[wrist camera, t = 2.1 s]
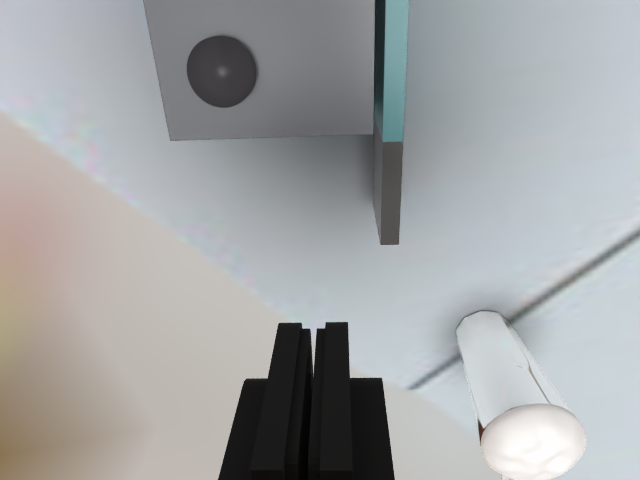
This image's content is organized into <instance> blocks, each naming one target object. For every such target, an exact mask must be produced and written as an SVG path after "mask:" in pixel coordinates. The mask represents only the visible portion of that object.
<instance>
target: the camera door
mask: <svg viewBox="0 0 640 480" xmlns="http://www.w3.org/2000/svg"><path fill="white" fill-rule="evenodd" d="M408 12H409V0H376V47H375V124H374V201H373V207H374V212H375V218H376V223H377V228H378V234H379V239H380V245H398V244H399V226H400V202H401V179H402V155H403V131H404V107H405V84H406V60H407V36H408Z"/></svg>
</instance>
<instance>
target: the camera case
mask: <svg viewBox="0 0 640 480" xmlns="http://www.w3.org/2000/svg"><path fill="white" fill-rule="evenodd" d="M143 2H144V7H145V13H146V18H147V23H148V28H149V33H150V39H151V44H152V49H153V54H154V59H155V64H156V70H157V75H158V80H159V85H160V90H161V96H162V101H163V106H164V111H165V116H166V122H167V127H168V132H169V137H170V141H179V140H210V139H240V138H271V137H301V136H332V135H362V134H373V114H374V31H375V0H143Z"/></svg>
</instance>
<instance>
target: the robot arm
mask: <svg viewBox="0 0 640 480" xmlns="http://www.w3.org/2000/svg"><path fill="white" fill-rule="evenodd" d="M349 373H350V372H349V342H348V322H326V325H325V329H317V334H316V349H315V364H314V378H313V364H312V346H311V331H310V329H302V323H279V324H278V329H277V334H276V339H275V344H274V349H273V354H272V359H271V364H270V370H269V375H268V379H246V380H245V381H244V384H243V387H242V390H241V394H240V398H239V402H238V406H237V410H236V413H235V417H234V421H233V425H232V429H231V433H230V436H229V440H228V444H227V448H226V452H225V455H224V459H223V464H222V467H221V471H220V475H219V478H218V480H395V478H394V471H393V462H392V455H391V446H390V438H389V430H388V422H387V414H386V406H385V398H384V390H383V382H382V378H350V374H349Z"/></svg>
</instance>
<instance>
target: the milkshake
mask: <svg viewBox="0 0 640 480" xmlns="http://www.w3.org/2000/svg"><path fill="white" fill-rule="evenodd" d="M456 335H457V343H458V347H459V351H460V355H461V360H462V364H463V368H464V372H465V376H466V380H467V384H468V388H469V392H470V396H471V400H472V406H473V412H474V417H475V422H476V427H477V431H478V436H479V441H480V446H481V450H482V454H483V457H484V459H485V461H486V463H487V464H488V465H489V466H490V467H491V468H492V469H494V470H495V471H497V472H499V473H501V474H502V480H510V478H512V479H516V480H549V479H552V478H555V477H557V476H560V475H562V474H564V473H566V472H567V471H568V470H570V468H571V467H572V466H573V465H574V464H575V463H576V462H577V461H578V460H579V459H580V457H581V456H582V455H583V453H584V451H585V449H586V444H587V438H586V434H585V431H584V429H583V427H582V425H581V423H580V421H579V420H578V418H577V417H576V416H575V414H574V413H573V412H572V410H571V409H570V408H569V406H568V405H567V404H566V402H565V401H564V400H563V398H562V397H561V396H560V394H559V393H558V392H557V390H556V389H555V387H554V386H553V385H552V383H551V382H550V381H549V379H548V378H547V377H546V375H545V374H544V372H543V371H542V369H541V368H540V366H539V365H538V363H537V362H536V361H535V359H534V358H533V356H532V355H531V353H530V352H529V350H528V349H527V348H526V346H525V345H524V343H523V342H522V340H521V339H520V337H519V336H518V335H517V333H516V332H515V330H514V329H513V327H512V326H511V325H510V323H509V322H508V321H507V320H506V319H505V318H503V317H502V316H501V315H500V314H499V313H497V312H488V311H479V312H476V313H474V314H472V315H470V316H467V317H465V318H464V319H463V321H462V322H461V323H460V325H459V326H458V328H457V329H456Z"/></svg>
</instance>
